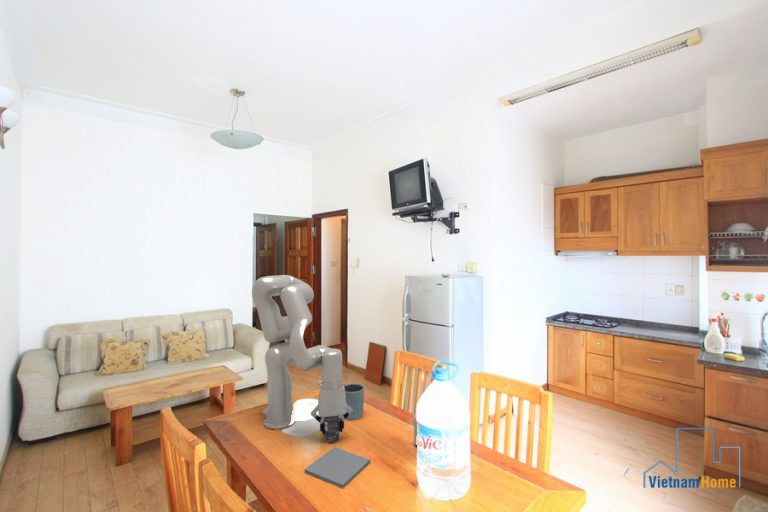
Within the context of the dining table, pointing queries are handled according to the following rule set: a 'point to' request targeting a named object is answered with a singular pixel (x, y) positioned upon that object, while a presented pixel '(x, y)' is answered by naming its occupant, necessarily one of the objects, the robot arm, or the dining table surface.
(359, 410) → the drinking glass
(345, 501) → the dining table surface
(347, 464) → the slate mat
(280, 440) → the dining table surface
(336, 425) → the pill bottle
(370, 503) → the dining table surface
